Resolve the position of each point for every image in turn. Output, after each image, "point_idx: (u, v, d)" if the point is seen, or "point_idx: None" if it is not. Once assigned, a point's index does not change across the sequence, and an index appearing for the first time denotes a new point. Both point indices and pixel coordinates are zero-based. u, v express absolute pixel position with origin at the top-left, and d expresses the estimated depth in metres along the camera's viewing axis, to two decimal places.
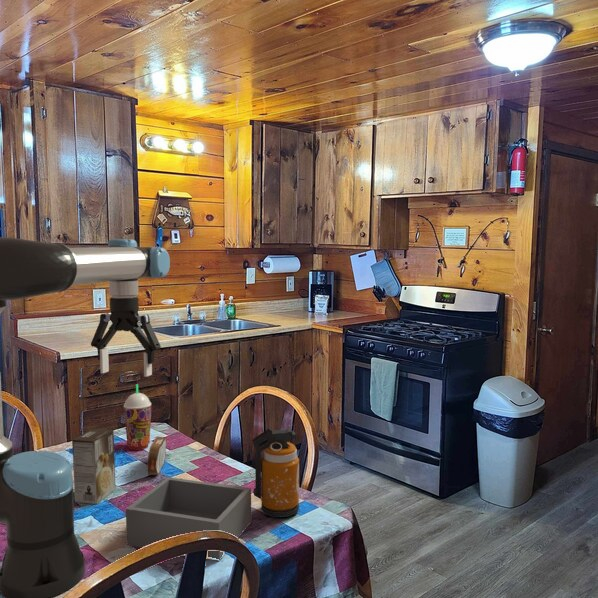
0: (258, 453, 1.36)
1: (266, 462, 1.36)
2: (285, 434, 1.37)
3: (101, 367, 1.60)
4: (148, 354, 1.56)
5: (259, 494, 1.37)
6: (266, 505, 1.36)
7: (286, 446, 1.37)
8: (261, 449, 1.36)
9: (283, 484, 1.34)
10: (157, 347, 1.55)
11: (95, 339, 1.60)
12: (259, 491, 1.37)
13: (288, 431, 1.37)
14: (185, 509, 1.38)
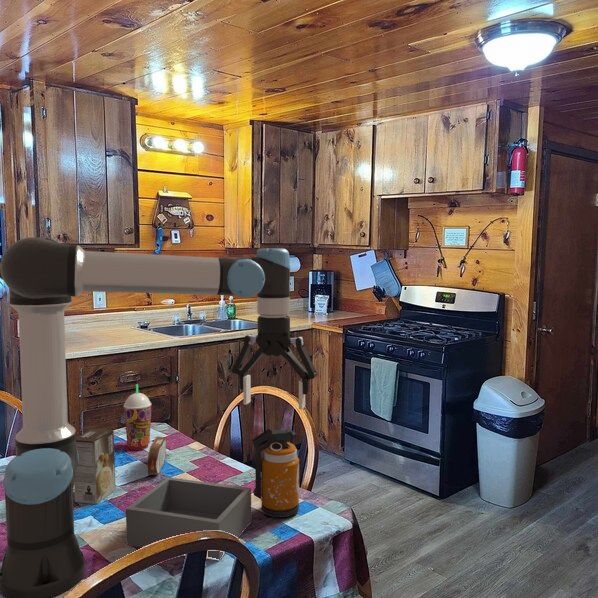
0: (258, 453, 1.36)
1: (266, 462, 1.36)
2: (285, 434, 1.37)
3: (244, 397, 1.37)
4: (304, 383, 1.33)
5: (259, 494, 1.37)
6: (266, 505, 1.36)
7: (286, 446, 1.37)
8: (261, 449, 1.36)
9: (283, 484, 1.34)
10: (315, 375, 1.33)
11: (237, 365, 1.37)
12: (259, 491, 1.37)
13: (288, 431, 1.37)
14: (185, 509, 1.38)
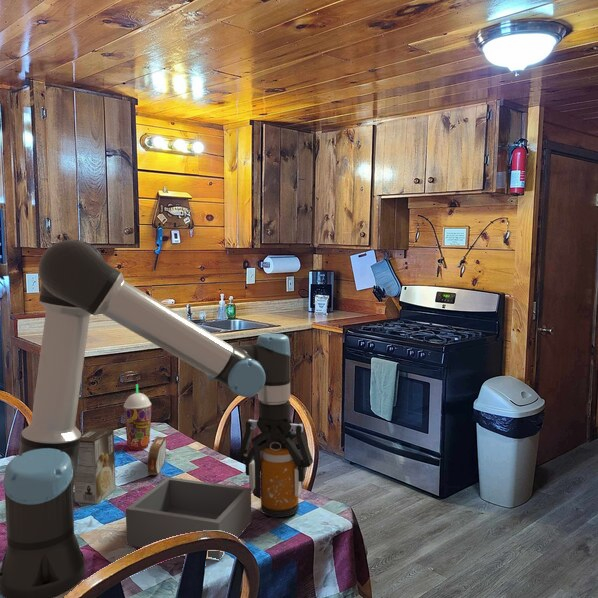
0: (257, 453, 1.36)
1: (265, 462, 1.36)
2: None
3: (250, 484, 1.39)
4: (299, 470, 1.36)
5: (259, 494, 1.37)
6: (266, 505, 1.36)
7: (285, 446, 1.37)
8: (260, 449, 1.36)
9: (282, 484, 1.34)
10: (310, 463, 1.35)
11: (242, 451, 1.39)
12: (259, 491, 1.37)
13: None
14: (185, 509, 1.38)
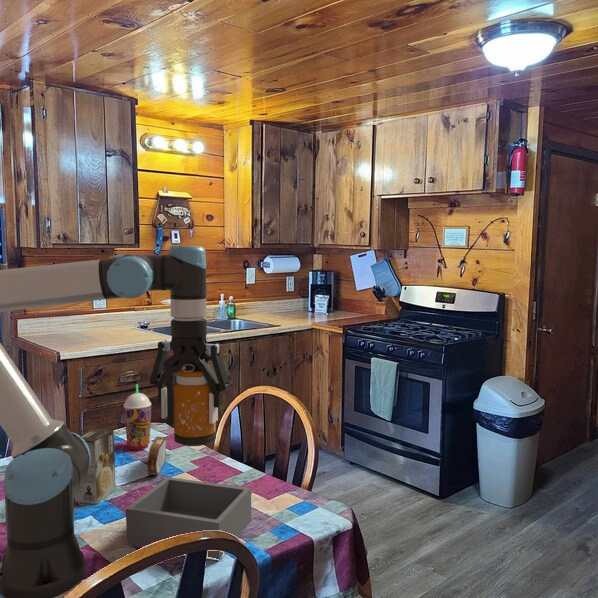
0: (169, 376, 1.24)
1: (177, 385, 1.24)
2: None
3: (162, 411, 1.27)
4: (215, 395, 1.23)
5: (171, 421, 1.25)
6: (177, 433, 1.24)
7: None
8: (172, 371, 1.24)
9: (195, 409, 1.22)
10: (226, 387, 1.23)
11: (154, 375, 1.27)
12: (170, 418, 1.25)
13: None
14: (185, 509, 1.38)
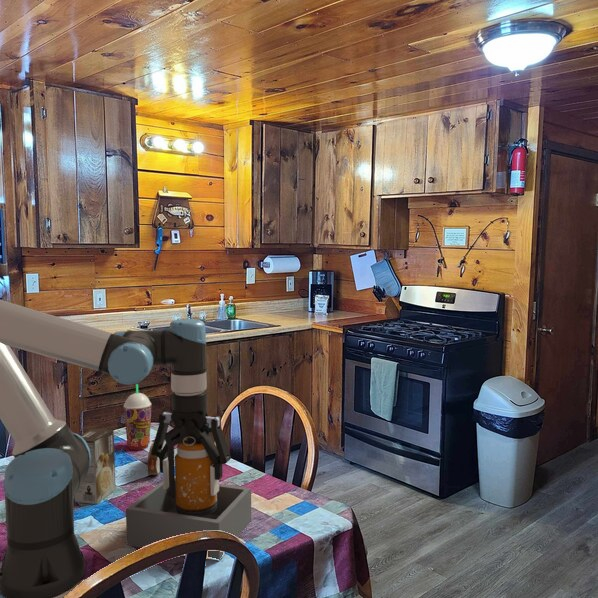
0: (170, 448, 1.26)
1: (179, 458, 1.25)
2: None
3: (164, 482, 1.28)
4: (216, 468, 1.25)
5: (172, 493, 1.27)
6: (179, 505, 1.25)
7: None
8: (173, 444, 1.26)
9: (196, 482, 1.24)
10: (227, 460, 1.24)
11: (156, 446, 1.28)
12: (172, 490, 1.26)
13: None
14: None
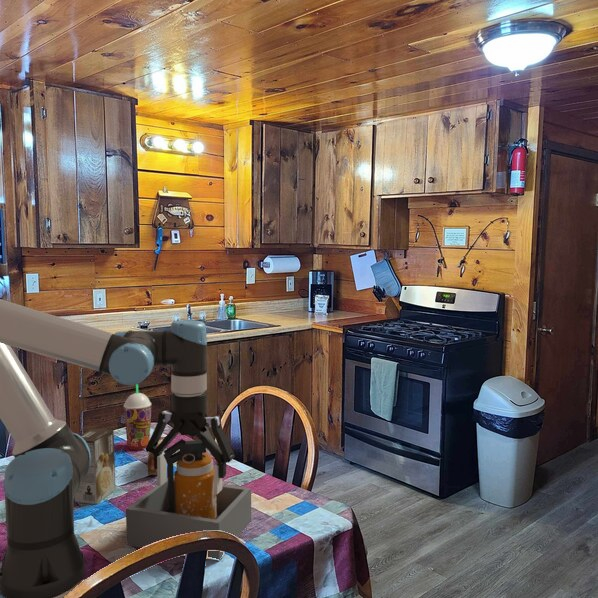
0: (170, 466, 1.26)
1: (178, 475, 1.25)
2: (199, 445, 1.26)
3: (158, 478, 1.28)
4: (219, 466, 1.25)
5: (172, 510, 1.27)
6: None
7: (201, 457, 1.27)
8: (173, 461, 1.26)
9: (196, 499, 1.24)
10: (231, 458, 1.24)
11: (151, 443, 1.28)
12: (172, 507, 1.27)
13: None
14: None
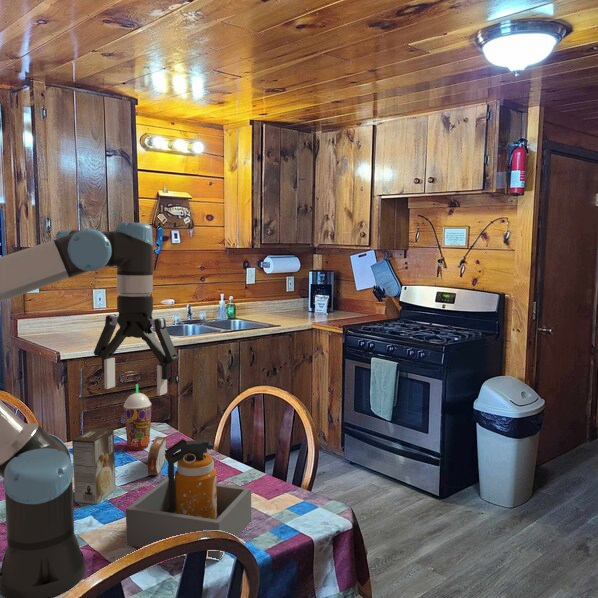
0: (170, 465, 1.26)
1: (179, 475, 1.25)
2: (200, 445, 1.27)
3: (105, 381, 1.29)
4: (163, 367, 1.25)
5: (172, 510, 1.27)
6: None
7: (201, 458, 1.27)
8: (174, 461, 1.26)
9: (196, 499, 1.24)
10: (174, 359, 1.24)
11: (99, 346, 1.29)
12: (172, 506, 1.27)
13: (204, 441, 1.27)
14: None
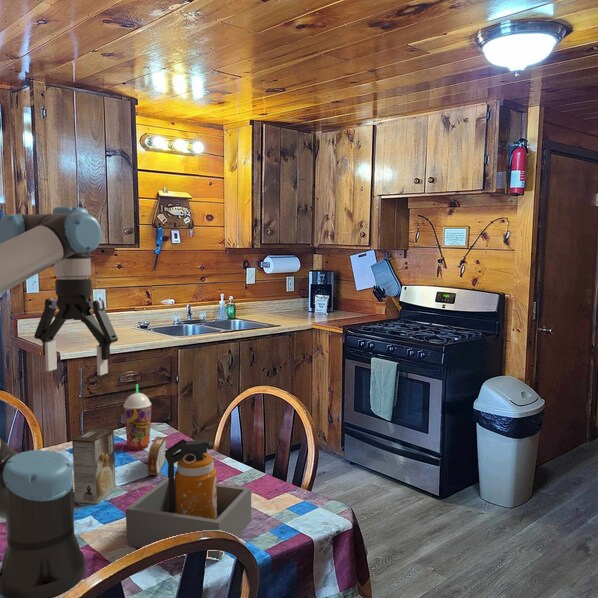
0: (170, 466, 1.26)
1: (179, 475, 1.25)
2: (200, 445, 1.27)
3: (47, 364, 1.32)
4: (102, 348, 1.28)
5: (172, 510, 1.27)
6: None
7: (201, 458, 1.27)
8: (174, 461, 1.26)
9: (196, 499, 1.24)
10: (113, 339, 1.27)
11: (39, 330, 1.32)
12: (172, 507, 1.27)
13: (204, 441, 1.27)
14: None
